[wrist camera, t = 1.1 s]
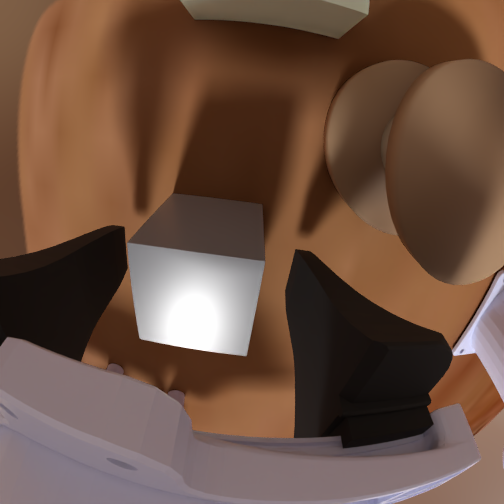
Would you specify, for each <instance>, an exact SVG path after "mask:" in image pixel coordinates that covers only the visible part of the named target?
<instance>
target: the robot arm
mask: <svg viewBox="0 0 504 504" xmlns="http://www.w3.org/2000/svg"><path fill="white" fill-rule="evenodd" d="M127 269H128V266H127V255H126V243H125V228H124V227H123V226H115V225H111V226H106V227H103V228H100V229H97V230H95V231H92V232H89V233H87V234H84V235H82V236H79V237H77V238H74V239H72V240H69V241H66V242H64V243H61V244H59V245H56V246H53V247H50V248H47V249H44V250H40V251H37V252H33V253H29V254H25V255H20V256H16V257H11V258H4V259H0V504H393V503H396V502H399V501H402V500H405V499H407V498H410V497H413V496H416V495H418V494H421V493H423V492H426V491H428V490H431V489H433V488H435V487H437V486H439V485H441V484H443V483H444V482H446V481H448V480H450V479H451V478H453V477H455V476H457V475H458V474H460V473H461V472H463V471H465V470H466V469H468V468H469V467H471V466H473V465H474V464H476V463H477V462H478V461H480V459H481V455H480V453H479V450H478V447H477V444H476V442H475V439H474V436H473V434H472V431H471V429H470V426H469V424H468V422H467V419H466V417H465V415H464V412H463V410H462V408H461V406H460V404H454V405H450V406H447V407H443V408H439V409H437V410H435V411H433V412H431V413H429V410H428V408H427V406H428V405H429V404H430V403H431V399H430V396H429V394H428V393H429V392H430V391H431V390H432V388H433V387H434V386H435V385H436V384H437V383H438V382H439V380H440V379H441V378H442V377H443V376H444V374H445V373H446V371H447V370H448V368H449V366H450V364H451V361H452V356H453V355H455V356H456V355H464V354H471V353H476V354H477V355H478V357H479V358H480V360H481V362H482V363H483V365H484V367H485V369H486V370H487V372H488V374H489V375H490V377H491V379H492V381H493V383H494V384H495V386H496V388H497V390H498V392H499V394H500V396H501V398H502V400H503V402H504V270H501V271H499V272H498V273H497V275H496V277H495V279H494V281H493V283H492V285H491V287H490V289H489V291H488V293H487V295H486V297H485V298H484V300H483V302H482V304H481V306H480V307H479V309H478V311H477V312H476V314H475V316H474V317H473V319H472V321H471V322H470V324H469V326H468V327H467V329H466V330H465V332H464V333H463V335H462V336H461V338H460V339H459V341H458V342H457V344H456V345H455V347H454V348H453V350H451V348H450V346H449V345H448V343H447V341H446V340H445V338H444V336H443V335H442V334H441V333H439V332H436V331H433V330H430V329H427V328H424V327H421V326H418V325H416V324H413V323H411V322H409V321H407V320H404V319H402V318H400V317H398V316H396V315H394V314H392V313H390V312H388V311H387V310H385V309H383V308H381V307H379V306H378V305H376V304H374V303H373V302H371V301H370V300H368V299H367V298H365V297H364V296H362V295H361V294H359V293H358V292H357V291H355V290H354V289H353V288H352V287H350V286H349V285H348V284H347V283H345V282H344V281H343V280H342V279H341V278H340V277H338V276H337V275H336V274H335V273H334V272H333V271H332V270H331V269H330V268H328V267H327V266H326V265H325V264H324V263H323V262H322V261H321V260H320V259H319V258H318V257H317V256H315V255H314V254H313V253H312V252H310V251H304V250H297V249H295V254H294V258H293V262H292V266H291V270H290V274H289V278H288V282H287V286H286V290H285V299H286V314H287V320H288V326H289V331H290V337H291V343H292V349H293V355H294V367H295V430H294V438H263V437H246V436H234V435H224V434H216V433H208V432H201V431H195V430H192V421H191V419H190V417H189V416H188V414H187V413H186V411H185V410H184V408H183V407H182V405H181V404H180V403H179V402H178V401H177V400H175V399H174V398H172V397H170V396H169V395H167V394H166V393H164V392H163V391H161V390H160V389H158V388H157V387H155V386H153V385H150V384H147V383H144V382H142V381H139V380H137V379H134V378H131V377H129V376H126V375H122V374H119V373H115V372H112V371H108V370H105V369H101V368H98V367H95V366H92V365H89V364H86V363H83V362H81V360H82V357H83V354H84V351H85V348H86V346H87V343H88V341H89V338H90V336H91V334H92V331H93V329H94V327H95V325H96V323H97V322H98V320H99V318H100V317H101V315H102V313H103V312H104V310H105V308H106V307H107V305H108V304H109V302H110V301H111V299H112V297H113V296H114V294H115V293H116V291H117V289H118V288H119V286H120V284H121V282H122V280H123V278H124V275H125V273H126V271H127ZM503 467H504V449H503Z"/></svg>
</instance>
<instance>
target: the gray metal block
mask: <svg viewBox="0 0 504 504" xmlns="http://www.w3.org/2000/svg"><path fill="white" fill-rule="evenodd" d="M127 245H128V257H129V267H130V277H131V285H132V293H133V300H134V307H135V314H136V320H137V326H138V332H139V337H140V339H143V340H148V341H152V342H157V343H162V344H168V345H173V346H179V347H184V348H190V349H197V350H203V351H210V352H217V353H225V354H233V355H241V356H247V351H248V346H249V341H250V336H251V331H252V326H253V321H254V316H255V311H256V306H257V301H258V296H259V291H260V286H261V281H262V276H263V270H264V265H265V246H264V226H263V207H262V204H257V203H250V202H243V201H235V200H227V199H220V198H211V197H203V196H194V195H185V194H175V193H173V194H172V195H171V196H170V197H169V198H168V199H167V200H166V201H165V202H164V203H163V204H162V205H161V206H160V207H159V208H158V209H157V210H156V211H155V213H154V214H153V215H152V216H151V217H150V218H149V219H148V220H147V221H146V222H145V223H144V224H143V226H142V227H141V228H140V229H139V230H138V231H137V232H136V233H135V234H134V236H133V237H132V238H131V239H130V240H129V241H128V242H127Z"/></svg>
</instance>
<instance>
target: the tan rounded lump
mask: <svg viewBox="0 0 504 504" xmlns="http://www.w3.org/2000/svg"><path fill="white" fill-rule="evenodd" d="M324 153H325V160H326V164H327V168H328V172H329V174H330V177H331V179H332V182H333V184H334V186H335V188H336V189H337V191H338V193H339V194H340V196H341V197H342V198H343V200H344V201H345V202H346V203H347V204H348V205H349V207H350V208H351V209H352V210H353V211H354V212H355V213H356V214H357V215H358V216H359V217H360V218H361V219H362V220H363V221H364V222H366V223H367V224H369V225H370V226H372V227H373V228H375V229H377V230H380V231H382V232H384V233H388V234H392V235H398V236H399V238H400V239H401V241H402V243H403V245H404V246H405V247H406V249H407V250H408V251H409V253H410V254H411V255H412V256H413V257H414V258H415V260H416V261H417V262H418V263H419V264H420V265H421V266H422V267H423V268H424V269H425V270H426V271H427V272H428V274H430V275H431V276H433V277H434V278H436V279H437V280H439V281H442V282H444V283H448V284H452V285H466V284H472V283H475V282H478V281H481V280H483V279H485V278H487V277H489V276H490V275H492V274H493V273H495V272H496V271H498V270H499V269H500V268H501V267H503V266H504V72H503V71H502V70H501V69H500V68H498V67H496V66H494V65H492V64H491V63H488V62H485V61H482V60H476V59H464V60H455V61H448V62H442V63H440V64H437V65H434V66H432V67H431V68H430V67H427V66H425V65H423V64H420V63H417V62H413V61H407V60H389V61H385V62H381V63H378V64H375V65H372V66H369V67H367V68H365V69H362V70H361V71H359V72H357V73H356V74H354V75H353V76H352V77H351V78H349V79H348V80H347V81H346V82H345V83H344V84H343V86H342V87H341V88H340V89H339V91H338V92H337V94H336V96H335V97H334V99H333V101H332V103H331V106H330V108H329V111H328V114H327V118H326V122H325V128H324Z"/></svg>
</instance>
